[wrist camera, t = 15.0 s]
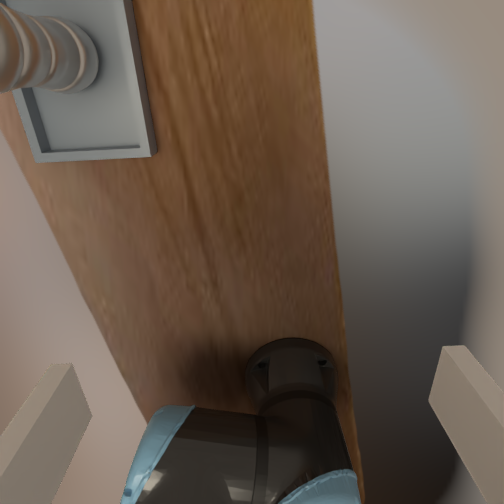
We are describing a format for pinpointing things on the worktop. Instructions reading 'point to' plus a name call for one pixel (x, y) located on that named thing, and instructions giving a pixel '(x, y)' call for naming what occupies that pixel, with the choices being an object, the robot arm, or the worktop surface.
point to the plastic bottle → (44, 53)
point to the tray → (91, 90)
